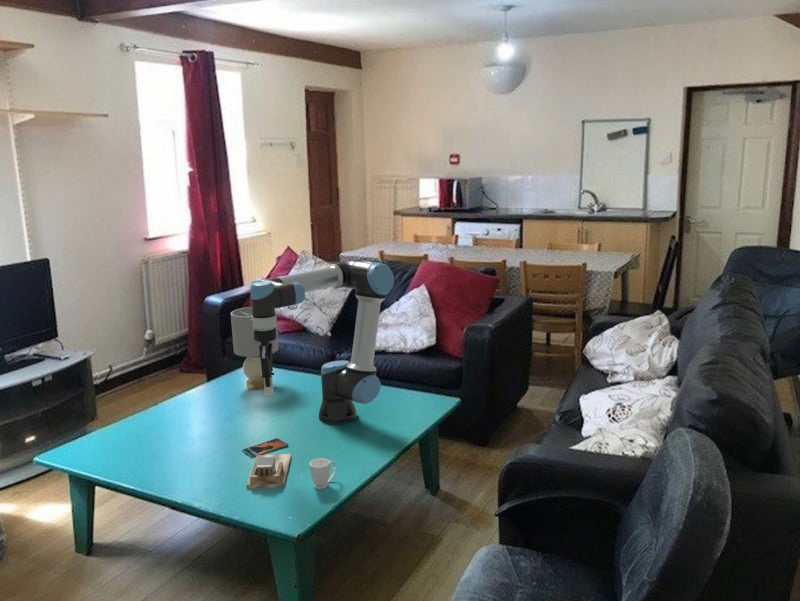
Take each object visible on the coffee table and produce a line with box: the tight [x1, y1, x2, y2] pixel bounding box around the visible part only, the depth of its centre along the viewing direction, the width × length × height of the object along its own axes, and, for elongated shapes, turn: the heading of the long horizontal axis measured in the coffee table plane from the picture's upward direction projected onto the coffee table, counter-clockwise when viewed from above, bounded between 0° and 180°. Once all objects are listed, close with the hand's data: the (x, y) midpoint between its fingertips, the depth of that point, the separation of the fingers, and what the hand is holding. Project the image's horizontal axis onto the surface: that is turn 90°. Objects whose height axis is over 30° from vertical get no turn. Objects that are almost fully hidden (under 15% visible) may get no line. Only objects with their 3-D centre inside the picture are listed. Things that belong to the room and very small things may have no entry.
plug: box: [256, 457, 276, 475], centre depth 229 cm, size 5×8×5 cm, turn 2°
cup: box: [308, 457, 337, 490], centre depth 225 cm, size 7×10×8 cm
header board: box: [246, 453, 292, 489], centre depth 234 cm, size 12×22×7 cm, turn 3°
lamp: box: [230, 306, 279, 391], centre depth 315 cm, size 20×20×35 cm
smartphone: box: [241, 437, 289, 459], centre depth 253 cm, size 8×1×15 cm
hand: (269, 394), depth 238 cm, fingers closed
